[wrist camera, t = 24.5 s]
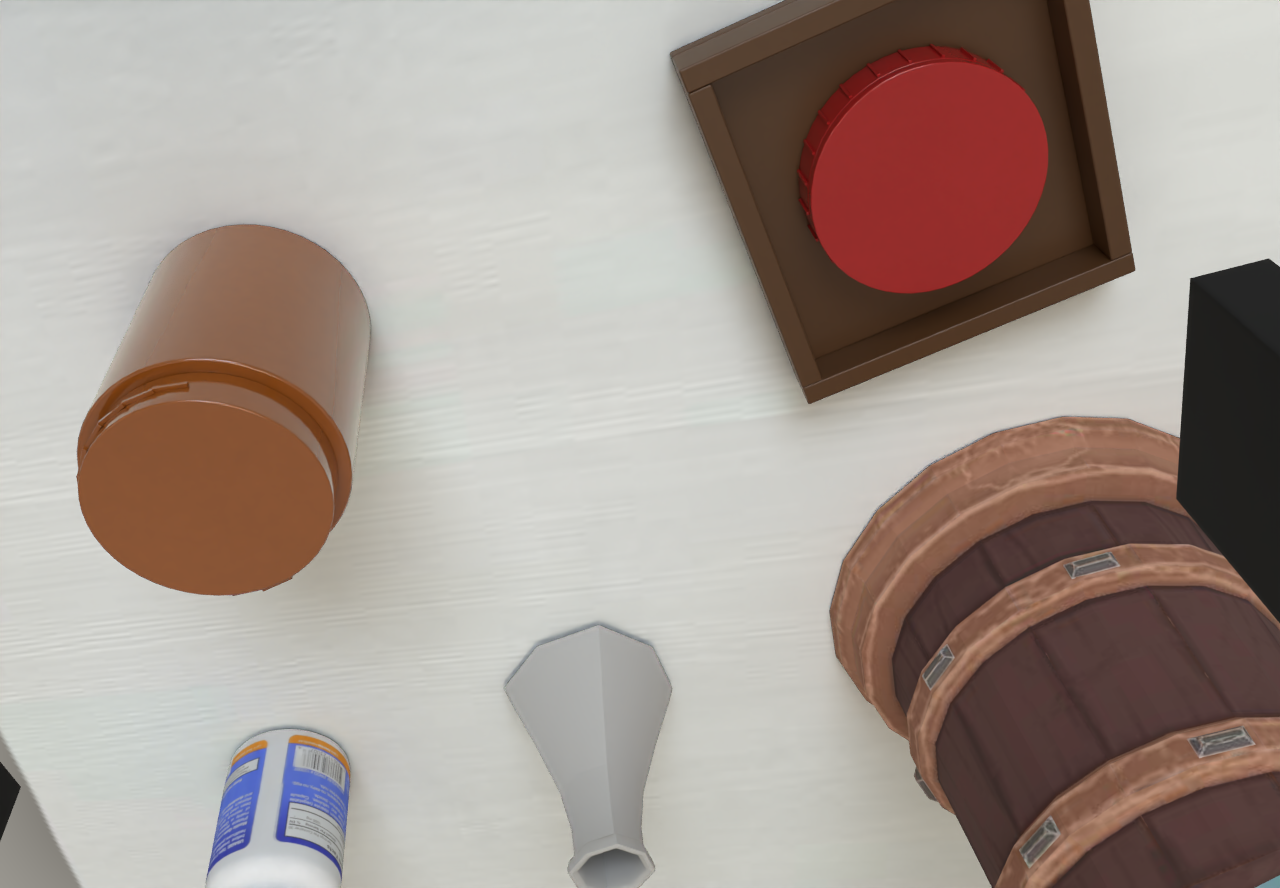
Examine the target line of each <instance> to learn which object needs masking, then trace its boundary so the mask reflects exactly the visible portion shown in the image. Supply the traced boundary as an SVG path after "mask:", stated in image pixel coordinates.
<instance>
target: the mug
mask: <svg viewBox="0 0 1280 888" xmlns="http://www.w3.org/2000/svg"><path fill="white" fill-rule="evenodd" d="M1179 446H1180V438H1177V437H1175V436H1172V435H1169V434H1167V433H1164V432H1161V431H1159V430H1156V429H1153V428H1151V427H1148V426H1145V425H1143V424H1140V423H1137V422H1135V421H1132V420H1130V419H1118V418H1086V417H1060V418H1056V419H1051V420H1047V421H1043V422H1039V423H1035V424H1030V425H1026V426H1022V427H1018V428H1014V429H1009V430H1005V431H1001V432H997V433H993V434H991V435H989V436H987V437H985V438H983V439H981V440H980V441H978V442H976V443H974V444H972V445H970V446H968V447H966V448H964V449H962V450H960V451H958V452H956V453H954V454H952V455H950V456H948V457H946V458H944V459H942V460H940V461H938V462H936V463H934V464H932V465H930V466H929V467H928V468H926V469H925V470H924V471H923V472H922V473H921V474H919V475H918V476H917V477H916V478H915V479H914V480H912V481H911V482H910V483H909V484H908V485H907V486H905V487H904V488H903V489H902V490H901V491H900V492H898V493H897V494H896V495H895V496H894V497H893V498H891V499H890V500H889V501H888V502H887V503H886V504H884V505H883V506H882V507H881V508H880V509H879V510H877V512H876V513H875V515H874V516H873V518H872V519H871V521H870V522H869V524H868V525H867V527H866V528H865V530H864V531H863V533H862V534H861V536H860V537H859V539H858V540H857V541H856V543H855V544H854V546H853V547H852V549H851V550H850V552H849V553H848V555H847V556H846V558H845V559H844V561H843V564H842V568H841V572H840V575H839V579H838V583H837V586H836V590H835V594H834V597H833V601H832V605H831V608H830V616H831V623H832V630H833V637H834V644H835V651H836V656H837V658H838V659H839V661H840V662H841V664H842V665H843V667H844V668H845V670H846V671H847V673H848V674H849V676H850V677H851V679H852V680H853V682H854V683H855V685H856V686H857V688H858V689H859V691H860V692H861V693H862V695H863V696H864V698H865V699H866V700H867V701H868V702H870V703H871V704H873V705H874V706H875V708H876V709H877V711H878V712H879V714H880V715H881V717H882V718H883V720H884V721H885V723H886V724H887V726H888V727H889V728H890V729H891V730H893V731H894V732H896V733H898V734H899V735H901V736H902V737H904V738H906V739H907V740H909V745H910V754H911V756H912V758H913V760H914V762H915V764H916V769H915V774H914V777H915V779H916V781H917V783H918V784H919V786H920V787H921V788H922V790H923V791H924V793H925V794H926V795H927V797H928V798H929V799H931V800H934V801H937V802H939V803H940V805H941V806H942V807H943V808H944V809H946V810H948V811H949V812H951V813H953V814H954V815H956V817H957V819H958V821H959V823H960V825H961V827H962V829H963V831H964V833H965V835H966V837H967V839H968V840H969V842H970V844H971V846H972V848H973V850H974V852H975V854H976V856H977V858H978V860H979V862H980V864H981V866H982V868H983V870H984V872H985V874H986V876H987V878H988V880H989V882H990V884H991V886H992V888H1280V623H1279V622H1278V621H1277V620H1276V618H1275V617H1274V616H1273V615H1272V614H1271V612H1270V611H1269V610H1268V609H1267V608H1266V606H1265V605H1264V604H1263V603H1262V602H1261V600H1260V599H1259V598H1258V597H1257V596H1256V594H1255V593H1254V592H1253V591H1252V590H1251V588H1250V587H1249V586H1248V585H1247V583H1246V582H1245V581H1244V580H1243V579H1242V577H1241V576H1240V575H1239V574H1238V573H1237V571H1236V570H1235V569H1234V568H1233V567H1232V565H1231V564H1230V563H1229V562H1228V561H1227V559H1226V558H1225V557H1224V556H1223V555H1222V553H1221V552H1220V551H1219V550H1218V549H1217V547H1216V546H1215V545H1214V544H1213V543H1212V541H1211V540H1210V539H1209V538H1208V537H1207V535H1206V534H1205V533H1204V532H1203V531H1202V529H1201V528H1200V527H1199V526H1198V525H1197V523H1196V522H1195V521H1194V520H1193V519H1192V517H1191V516H1190V515H1189V514H1188V513H1187V511H1186V510H1185V509H1184V508H1183V507H1182V505H1181V504H1180V503H1179V502H1178V501H1177V499H1176V492H1177V477H1178V462H1179Z"/></svg>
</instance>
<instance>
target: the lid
mask: <svg viewBox="0 0 1280 888" xmlns="http://www.w3.org/2000/svg"><path fill="white" fill-rule="evenodd" d="M897 51H898V52H896V53H893V54H891V55H888V56H885V57H883V58H881V59H879V60H877V61H875V62H873V63H871V64H870V63H867V64H866V65H867V66H866V67H864V68H863V69H861V70H860V71H858V72H857V73H856V74H854V75H853V76H852V77H851V78H849V79H848V80H847V81H846V82H845V83H844V84H842V83H841V84H840V85H839V86H840V87H839V88H838V89H837V91H836V92H835V93H834V94H833V95H832V96H831V97H830V98H829V99H828V101H827V102H826V104H825V105H824V106H823V108H822V109H821V110H818V115H817V117H816V119H815V121H814V122H813V124H812V126H811V128H810V131H809V133H808V135H807V138H806V139H804V141H803V143H804V147H803V151H802V154H801V160H800V166H799V170H797V174H798V175H799V193H800V199H798V201H799V203H800V205H801V206H802V208H803V211H804V214H805V216H806V219H807V221H808V223H809V225H807V226H808V228H809V230H810V232H811V233H812V235H813V237H814V238H815V240H816V242H817V241H819V242H820V244H821V245H822V247H823V249H824V250H825V252H826V253H827V255H828V257H829V258H830V260H831V262H832V263H835V265H836V266H837V267H838V268H839V269H841V270H842V271H843V272H844V273H845V274H847V275H848V276H849V277H851V278H853V279H854V280H856V281H858V282H859V283H862V284H864V285H866V286H869V287H871V288H874V289H878V290H882V291H886V292H894V293H921V292H929V291H933V290H937V289H942V288H945V287H948V286H951V285H953V284H956V283H959V282H961V281H963V280H965V279H967V278H969V277H971V276H973V275H974V274H976V273H978V272H979V271H981V270H983V269H984V268H986V267H987V266H988V265H990V264H991V263H992V262H994V261H995V260H996V259H997V258H998V257H1000V256H1001V255H1002V254H1003V253H1004V252H1005V251H1006V250H1007V249H1008V248H1009V247H1010V246H1011V245H1012V244H1013V242H1014V241H1015V240H1016V239H1017V238H1018V237H1019V235H1020V234H1021V233H1022V231H1023V230H1024V228H1025V227H1026V225H1027V224H1028V222H1029V221H1030V219H1031V217H1032V215H1033V213H1034V211H1035V210H1036V207H1037V205H1038V203H1039V200H1040V198H1041V195H1042V192H1043V188H1044V185H1045V181H1046V176H1047V169H1048V143H1047V135H1046V131H1045V128H1044V124H1043V121H1042V118H1041V116H1040V114H1039V112H1038V110H1037V108H1036V106H1035V105H1034V103H1033V102H1032V100H1031V99H1030V97H1029V96H1028V95H1027V94H1026V93H1025V89H1024V88H1023V87H1022V86H1020V85H1019V84H1018V83H1017V82H1015V81H1014V80H1013V79H1012V78H1009V77H1008V76H1006V75H1005V74H1004V73H1003V72H1004V70H1003V69H1002V68H1000V67H999V66H998V65H997V64H995V63H994V62H993V61H992V60H990V59H988V60H985V59H983V58H981V57H979V56H977V55H976V54H973V53H970V52H968V51H967V50H966V49H965V48H963V47H961V48H960V49H956V48H951V47H942V46H935V45H933V44H930V46H927V47H917V48H911V49H907V50H903V51H902V50H901V49H899V50H897Z"/></svg>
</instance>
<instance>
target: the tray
mask: <svg viewBox="0 0 1280 888" xmlns="http://www.w3.org/2000/svg"><path fill="white" fill-rule="evenodd" d="M930 44H933V45H935V46H942V47H951V48H956V49H960V48H961V47H963V48H965V49H966V50H967V51H968V52H970V53H973V54H976V55H977V56H979V57H981V58H983V59H985V60H988V59H990V60H992V61H993V62H994V63H995V64H997V65H998V66H999V67H1000V68H1002V69H1003V70H1004V72H1003V73H1004V74H1005V75H1006V76H1008V77H1009V78H1012V79H1013V80H1014V81H1015V82H1017V83H1018V84H1019V85H1020V86H1022V87H1023V88H1024V89H1025V93H1026V94H1027V95H1028V96H1029V97H1030V99H1031V100H1032V102H1033V103H1034V105H1035V106H1036V108H1037V110H1038V112H1039V114H1040V116H1041V118H1042V121H1043V124H1044V128H1045V131H1046V135H1047V143H1048V169H1047V176H1046V181H1045V185H1044V188H1043V192H1042V195H1041V198H1040V200H1039V203H1038V205H1037V207H1036V210H1035V211H1034V213H1033V215H1032V217H1031V219H1030V221H1029V222H1028V224H1027V225H1026V227H1025V228H1024V230H1023V231H1022V233H1021V234H1020V235H1019V237H1018V238H1017V239H1016V240H1015V241H1014V242H1013V244H1012V245H1011V246H1010V247H1009V248H1008V249H1007V250H1006V251H1005V252H1004V253H1003V254H1002V255H1001V256H1000V257H998V258H997V259H996V260H995V261H994V262H992V263H991V264H990V265H988V266H987V267H986V268H984V269H983V270H981V271H979V272H978V273H976V274H974V275H973V276H971V277H969V278H967V279H965V280H963V281H961V282H959V283H956V284H953V285H951V286H948V287H945V288H942V289H937V290H933V291H929V292H921V293H894V292H886V291H882V290H878V289H874V288H871V287H869V286H866V285H864V284H862V283H859V282H858V281H856V280H854V279H853V278H851V277H849V276H848V275H847V274H845V273H844V272H843V271H842V270H841V269H839V268H838V267H837V266H836V265H835V263H832V262H831V260H830V258H829V257H828V255H827V253H826V252H825V250H824V249H823V247H822V245H821V244H820V242H819V241H817V242H816V240H815V238H814V237H813V235H812V233H811V232H810V230H809V228H808V226H807V225H809V223H808V221H807V219H806V216H805V214H804V211H803V208H802V206H801V205H800V203H799V201H798V199H800V193H799V175H798V174H797V170H799V166H800V160H801V154H802V151H803V147H804V143H803V141H804V139H806V138H807V135H808V133H809V131H810V128H811V126H812V124H813V122H814V121H815V119H816V117H817V115H818V110H821V109H822V108H823V106H824V105H825V104H826V102H827V101H828V99H829V98H830V97H831V96H832V95H833V94H834V93H835V92H836V91H837V89H838V88H839V87H840V86H839V85H840V84H841V83H842V84H844V83H845V82H846V81H847V80H848V79H849V78H851V77H852V76H853V75H854V74H856V73H857V72H858V71H860V70H861V69H863V68H864V67H866V66H867V65H866V64H867V63H870V64H871V63H873V62H875V61H877V60H879V59H881V58H883V57H885V56H888V55H891V54H893V53H896V52H898V51H897V50H899V49H901V50H902V51H903V50H907V49H911V48H917V47H927V46H930ZM670 56H671V59H672V61H673V64H674V66H675V69H676V71H677V74H678V77H679V79H680V82H681V84H682V87H683V89H684V92H685V94H686V97H687V100H688V102H689V105H690V107H691V110H692V112H693V115H694V117H695V120H696V122H697V125H698V128H699V130H700V133H701V135H702V138H703V140H704V143H705V145H706V148H707V151H708V153H709V156H710V158H711V161H712V163H713V166H714V168H715V171H716V174H717V176H718V179H719V181H720V184H721V186H722V189H723V191H724V194H725V196H726V199H727V202H728V204H729V207H730V209H731V212H732V214H733V217H734V219H735V222H736V225H737V227H738V230H739V232H740V235H741V237H742V240H743V242H744V245H745V247H746V250H747V253H748V255H749V258H750V260H751V263H752V265H753V268H754V270H755V273H756V276H757V278H758V281H759V283H760V286H761V288H762V291H763V293H764V296H765V299H766V301H767V304H768V306H769V309H770V311H771V314H772V316H773V319H774V321H775V324H776V327H777V329H778V332H779V334H780V337H781V339H782V342H783V344H784V347H785V350H786V352H787V355H788V357H789V360H790V362H791V365H792V367H793V370H794V372H795V375H796V378H797V380H798V382H799V384H800V386H801V388H802V391H803V393H804V395H805V397H806V399H807V402H808V403H809V404H811V403H813V402H816V401H818V400H821V399H823V398H825V397H828V396H830V395H833V394H835V393H838V392H840V391H843V390H845V389H847V388H850V387H852V386H855V385H857V384H860V383H862V382H865V381H867V380H869V379H872V378H874V377H877V376H879V375H882V374H884V373H887V372H889V371H891V370H894V369H896V368H899V367H901V366H904V365H906V364H909V363H911V362H913V361H916V360H918V359H921V358H923V357H926V356H928V355H931V354H933V353H935V352H938V351H940V350H943V349H945V348H948V347H950V346H953V345H955V344H957V343H960V342H962V341H965V340H967V339H970V338H972V337H975V336H977V335H979V334H982V333H984V332H987V331H989V330H992V329H994V328H997V327H999V326H1002V325H1004V324H1006V323H1009V322H1011V321H1014V320H1016V319H1019V318H1021V317H1024V316H1026V315H1028V314H1031V313H1033V312H1036V311H1038V310H1041V309H1043V308H1046V307H1048V306H1050V305H1053V304H1055V303H1058V302H1060V301H1063V300H1065V299H1068V298H1070V297H1072V296H1075V295H1077V294H1080V293H1082V292H1085V291H1087V290H1090V289H1092V288H1094V287H1097V286H1099V285H1102V284H1104V283H1107V282H1109V281H1112V280H1114V279H1116V278H1119V277H1121V276H1124V275H1126V274H1129V273H1131V272H1134V271H1135V265H1134V259H1133V253H1132V248H1131V243H1130V237H1129V231H1128V225H1127V219H1126V213H1125V207H1124V202H1123V196H1122V190H1121V184H1120V178H1119V172H1118V166H1117V161H1116V155H1115V149H1114V143H1113V137H1112V131H1111V125H1110V120H1109V114H1108V108H1107V102H1106V96H1105V90H1104V84H1103V79H1102V73H1101V67H1100V61H1099V55H1098V49H1097V44H1096V38H1095V32H1094V26H1093V20H1092V14H1091V8H1090V3H1089V0H785V1H783V2H780V3H778V4H776V5H774V6H772V7H769V8H767V9H765V10H763V11H761V12H758V13H756V14H754V15H752V16H750V17H747V18H745V19H743V20H741V21H739V22H736V23H734V24H732V25H730V26H728V27H725V28H723V29H721V30H719V31H716V32H714V33H712V34H710V35H708V36H705V37H703V38H701V39H699V40H697V41H694V42H692V43H690V44H688V45H686V46H683V47H681V48H679V49H677V50H675V51H672V52H671V53H670Z"/></svg>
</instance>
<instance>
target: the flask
mask: <svg viewBox="0 0 1280 888" xmlns="http://www.w3.org/2000/svg"><path fill="white" fill-rule="evenodd" d="M504 690H505V692H506V694H507V695H508V697H509V699H510V701H511V703H512V705H513V707H514V708H515V710H516V712H517V714H518V715H519V717H520V719H521V721H522V722H523V724H524V726H525V728H526V729H527V731H528V733H529V735H530V736H531V738H532V740H533V742H534V743H535V745H536V747H537V749H538V751H539V753H540V755H541V757H542V759H543V761H544V763H545V765H546V767H547V769H548V770H549V772H550V774H551V776H552V778H553V780H554V782H555V784H556V786H557V788H558V790H559V792H560V794H561V797H562V801H563V804H564V807H565V810H566V813H567V816H568V819H569V823H570V826H571V829H572V838H573V846H574V857H573V858H572V859H571V860H570V861H569V863H568V868H567V869H568V874H569V875H570V877H571V878H572V880H573V881H574V883H575V885H576V886H577V888H639V887H640V886H641V885H642V884H643V883H644V882H645V881H646V880H647V879H648V878H649V877H650V876H651V875H652V874H653V873H654V872H655V865H654V863H653V861H652V859H651V857H650V855H649V854H648V852H647V850H646V848H645V847H644V844H643V837H642V829H641V824H642V808H643V792H644V788H645V784H646V780H647V776H648V772H649V769H650V765H651V761H652V757H653V753H654V749H655V745H656V742H657V739H658V735H659V732H660V729H661V726H662V722H663V719H664V716H665V713H666V710H667V706H668V703H669V699H670V696H671V692H672V686H671V684H670V682H669V680H668V678H667V676H666V674H665V672H664V670H663V668H662V666H661V664H660V662H659V660H658V657H657V655H656V653H655V651H654V649H653V647H651V646H649V645H646V644H644V643H641V642H639V641H636V640H634V639H632V638H629V637H627V636H624V635H622V634H619V633H617V632H614V631H612V630H610V629H607V628H605V627H602V626H600V625H597V626H594V627H591V628H588V629H585V630H583V631H580V632H577V633H574V634H571V635H568V636H565V637H562V638H559V639H557V640H554V641H551V642H548V643H545V644H542V645H539V646H537V647H536V648H535V650H534V651H533V652H532V653H531V655H530V656H529V657H528V658H527V660H526V661H525V662H524V663H523V665H522V666H521V667H520V668H519V670H518V671H517V672H516V673H515V675H514V676H513V677H512V678H511V680H510V681H509V682H508V684H507V685H506V686H505V687H504Z"/></svg>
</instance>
